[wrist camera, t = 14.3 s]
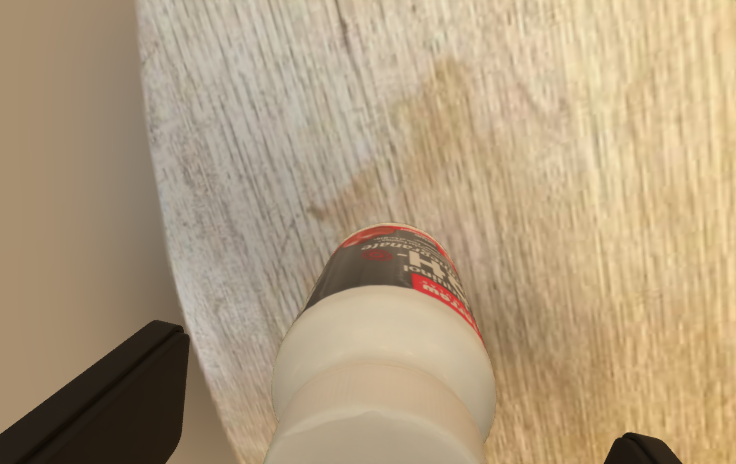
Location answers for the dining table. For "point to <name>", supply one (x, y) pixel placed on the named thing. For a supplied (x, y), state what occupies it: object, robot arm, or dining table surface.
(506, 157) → the dining table surface
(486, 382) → the pill bottle
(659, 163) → the dining table surface
